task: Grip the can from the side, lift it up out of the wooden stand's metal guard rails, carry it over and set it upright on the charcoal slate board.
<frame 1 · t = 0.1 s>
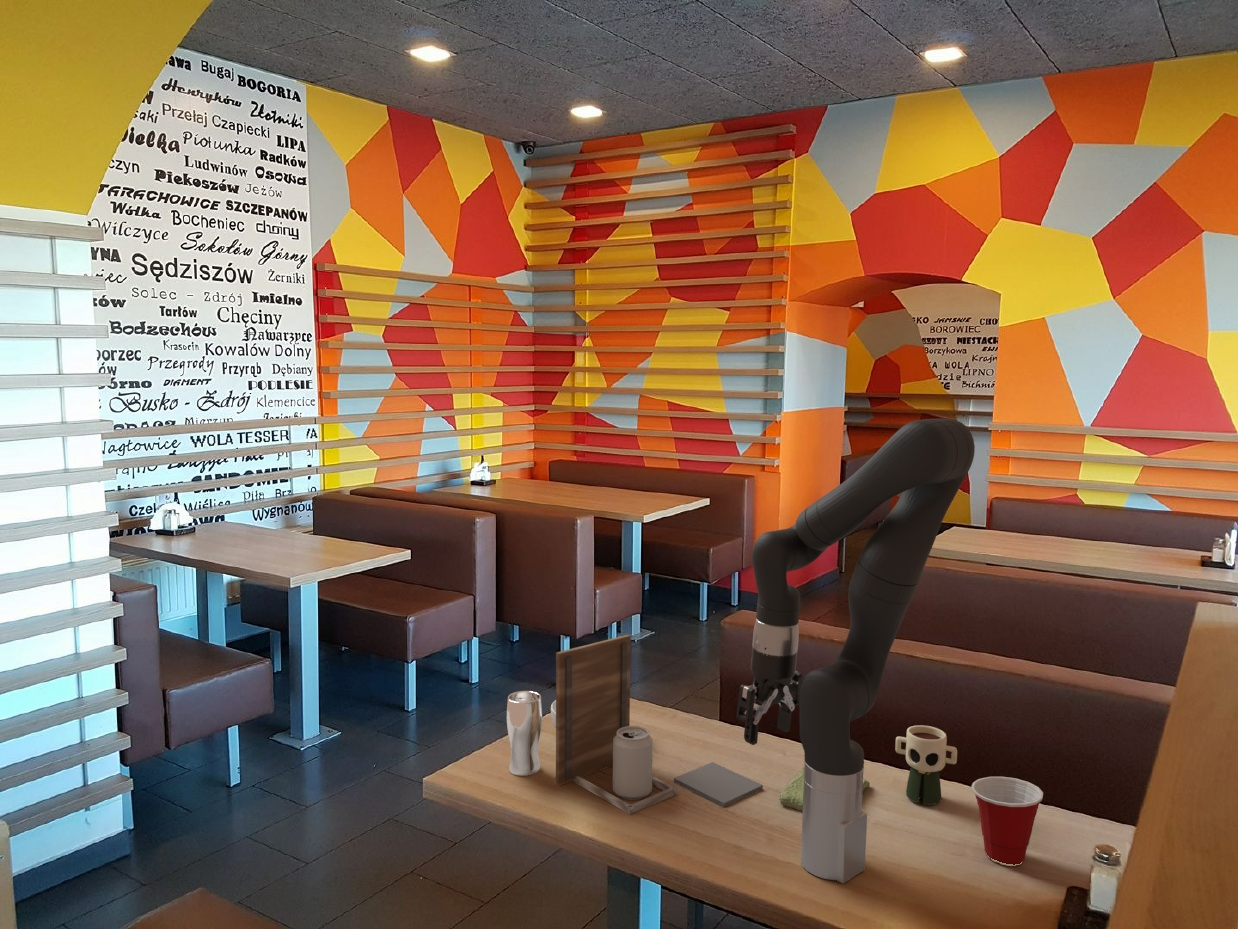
hand: (767, 736, 152), 17 cm above the table, tool pointing down, fingers open, 8 cm apart
washcloth: (823, 798, 167), on the table
character mug: (923, 800, 166), on the table
plastic cup: (1002, 858, 146), on the table
slate board: (717, 785, 171), on the table
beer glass: (524, 770, 177), on the table
cereal bowl: (589, 737, 193), on the table
can: (632, 793, 167), resting in wooden stand
wooden stand: (625, 788, 169), on the table
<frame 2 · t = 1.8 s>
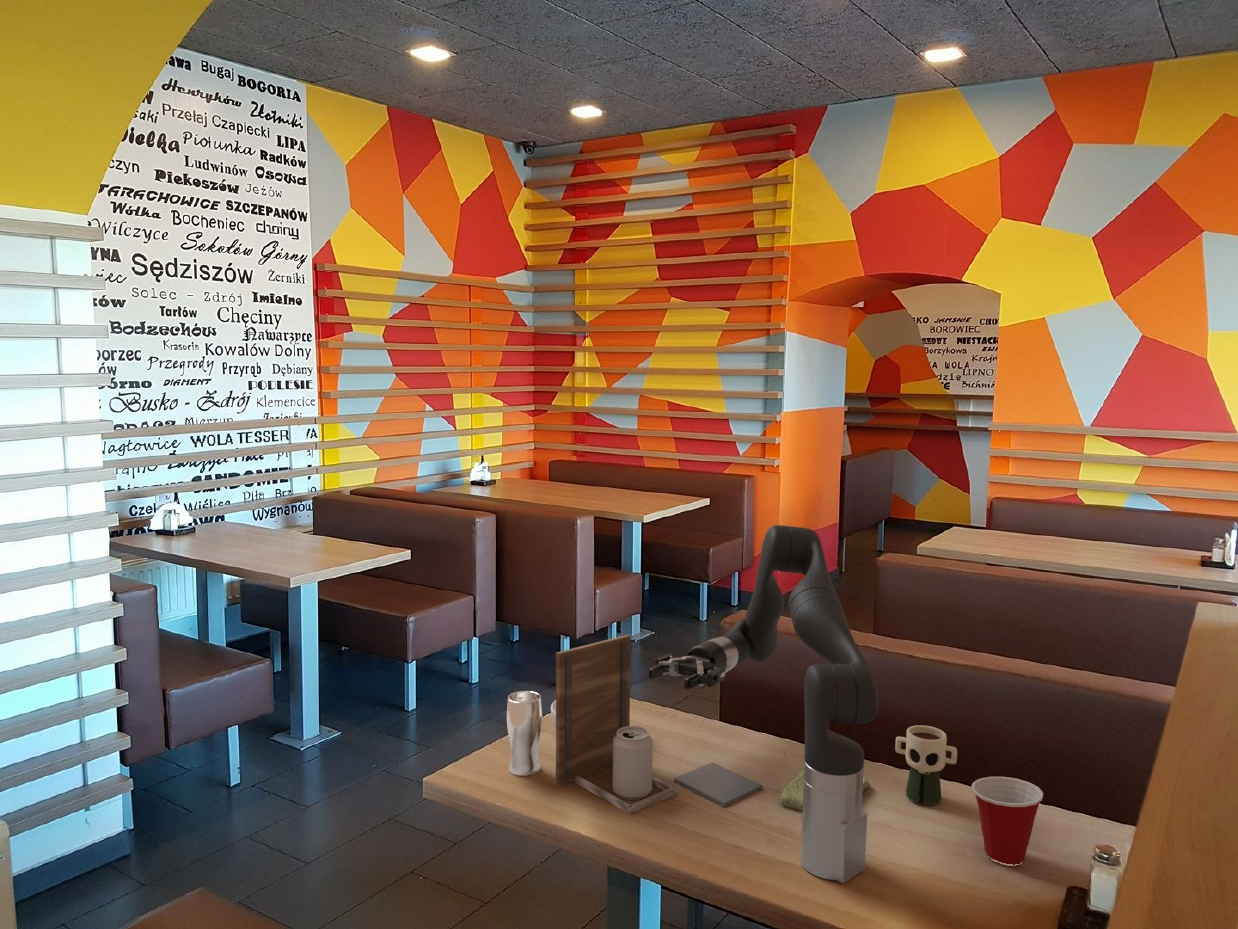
hand: (668, 679, 174), 19 cm above the table, tool horizontal, fingers open, 8 cm apart
nothing on the table moved.
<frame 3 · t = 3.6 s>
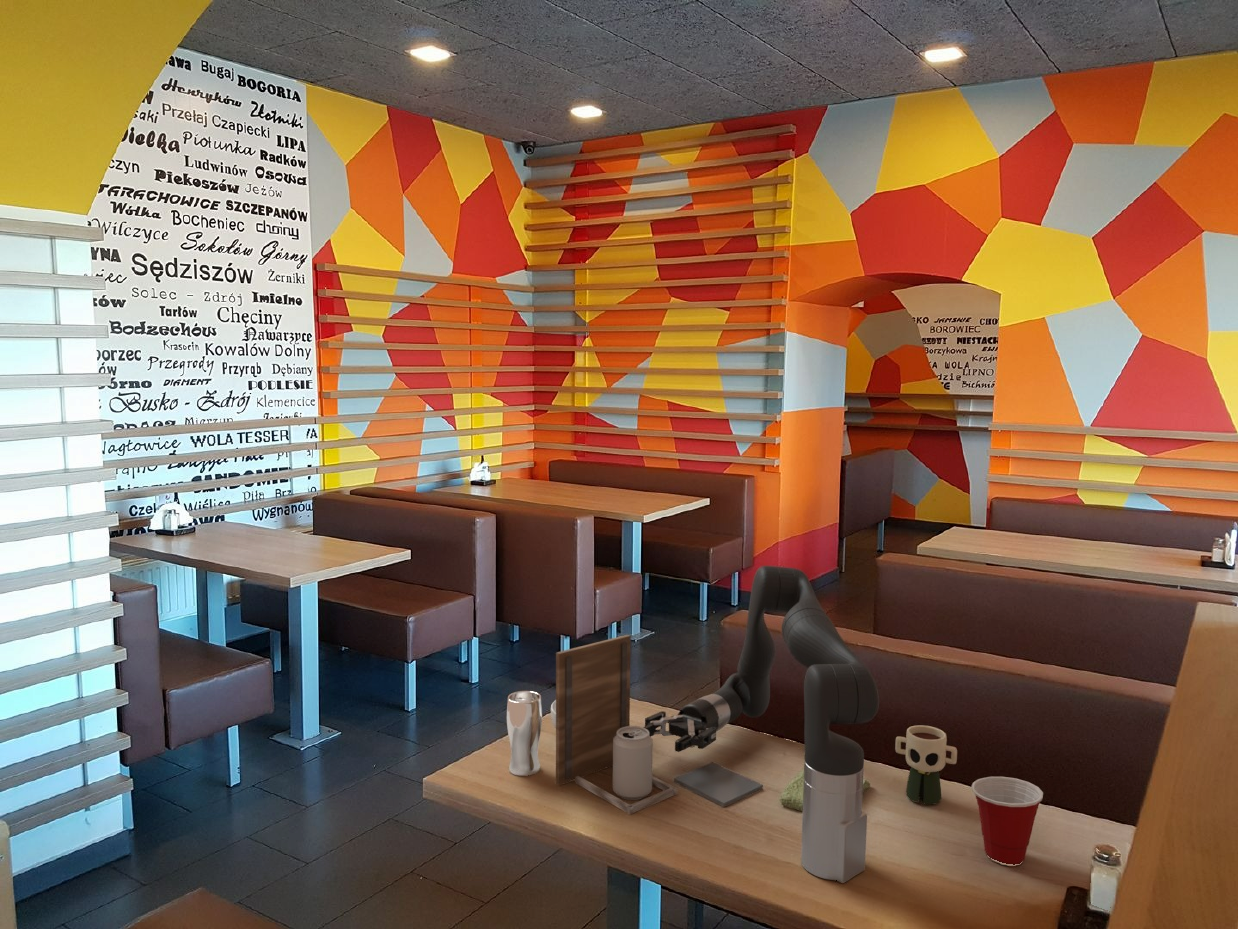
hand: (658, 741, 173), 7 cm above the table, tool horizontal, fingers open, 8 cm apart
nothing on the table moved.
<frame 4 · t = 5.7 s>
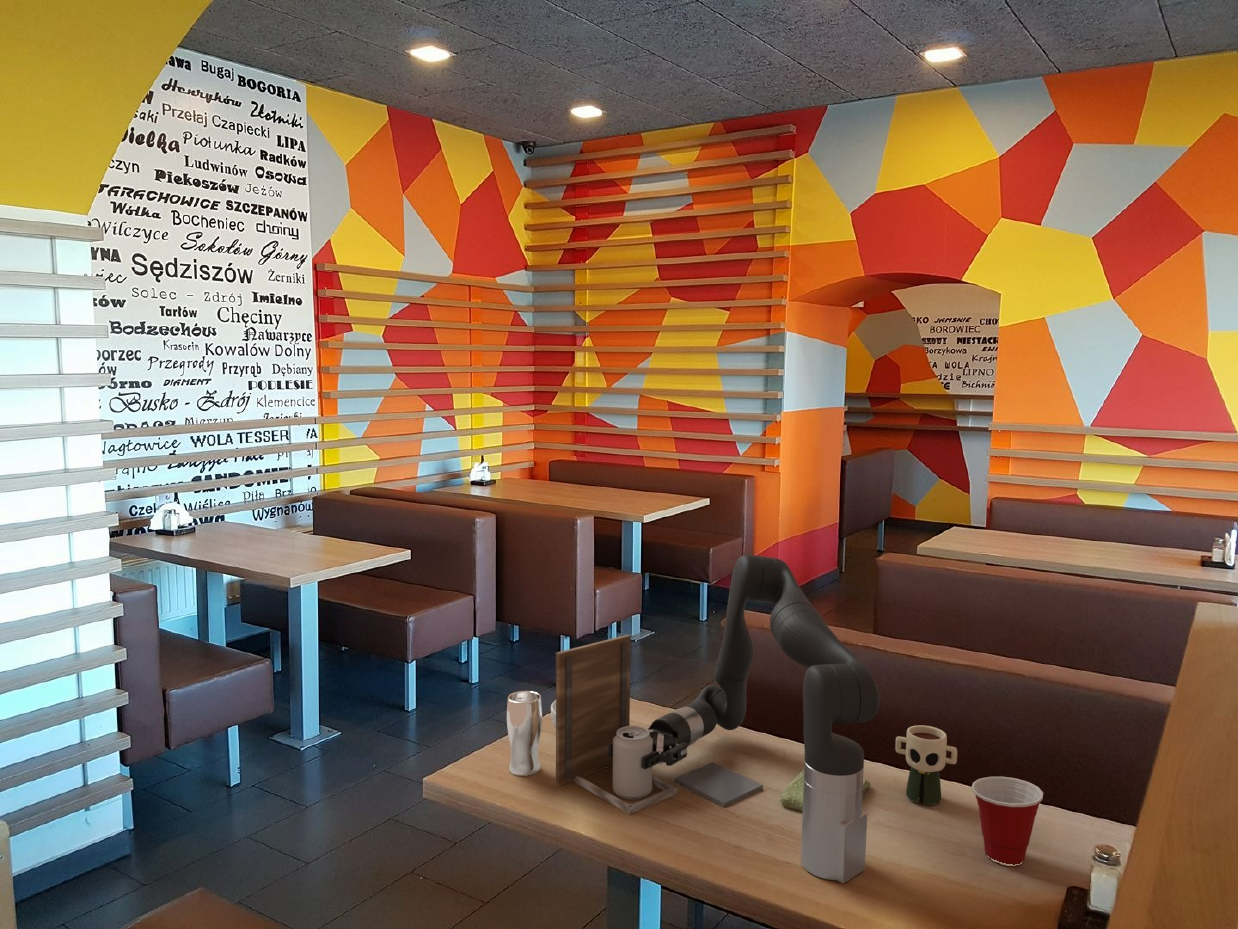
hand: (626, 757, 165), 8 cm above the table, tool horizontal, fingers closed on can, 7 cm apart
can: (632, 793, 167), resting in wooden stand, touching gripper
everything else where it was.
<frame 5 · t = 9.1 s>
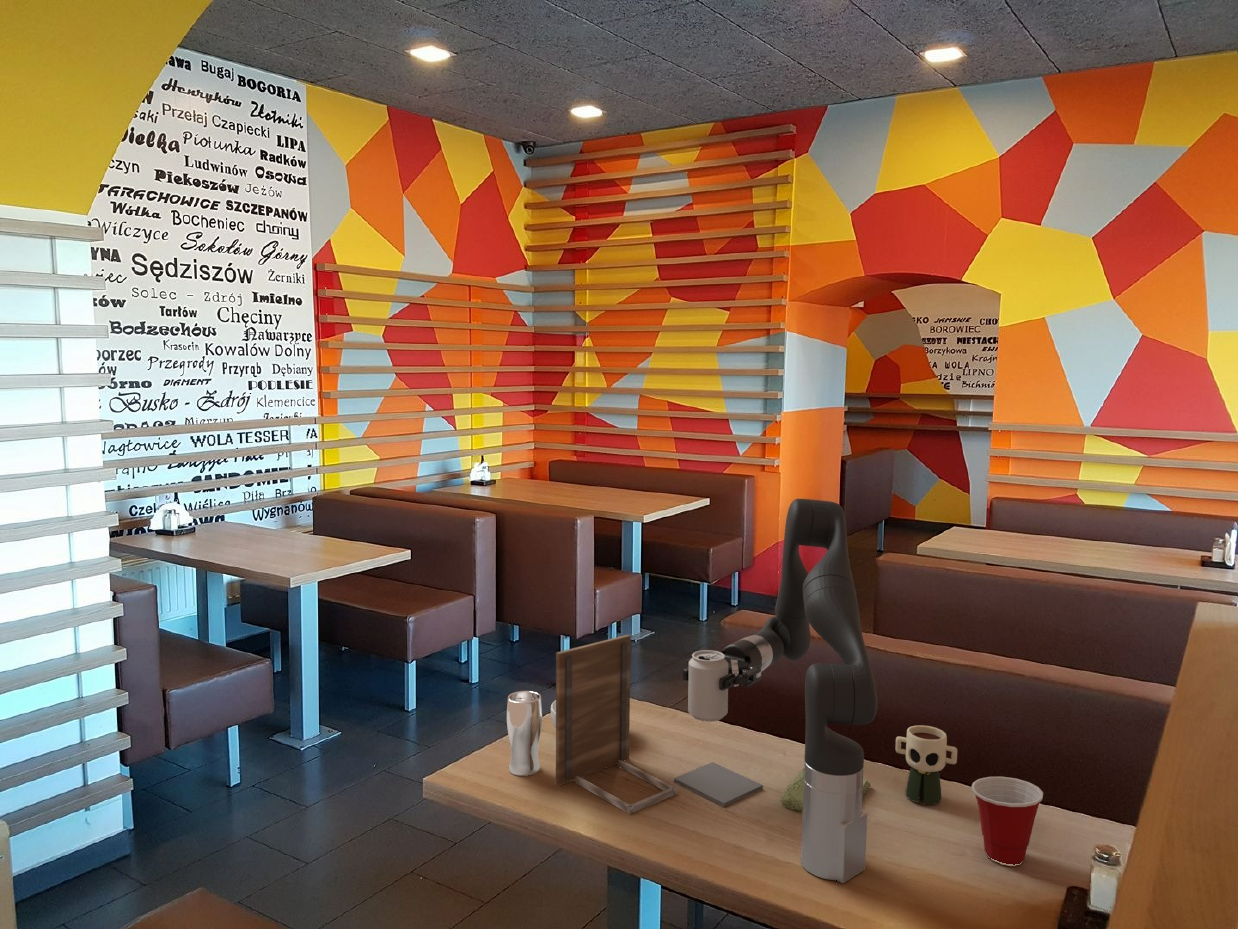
hand: (702, 680, 166), 22 cm above the table, tool horizontal, fingers closed on can, 7 cm apart
can: (707, 716, 169), point 14 cm above the table, touching gripper
everything else where it was.
when the fingers open (9 cm above the table, at t = 12.3 s): can drops 1 cm, resting on slate board.
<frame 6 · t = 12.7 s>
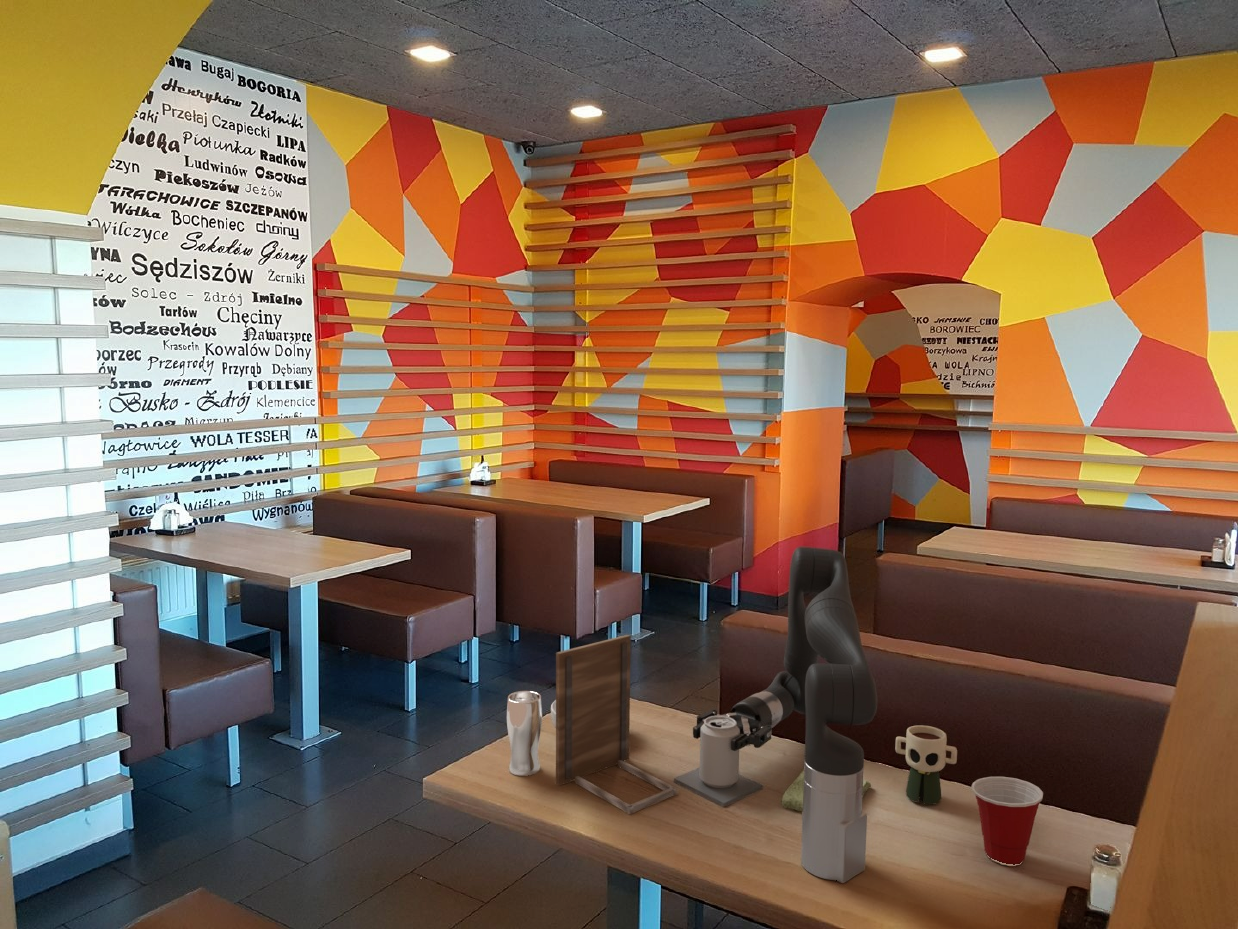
hand: (713, 739, 168), 10 cm above the table, tool horizontal, fingers open, 8 cm apart
can: (718, 782, 171), point 1 cm above the table, touching slate board
everything else where it was.
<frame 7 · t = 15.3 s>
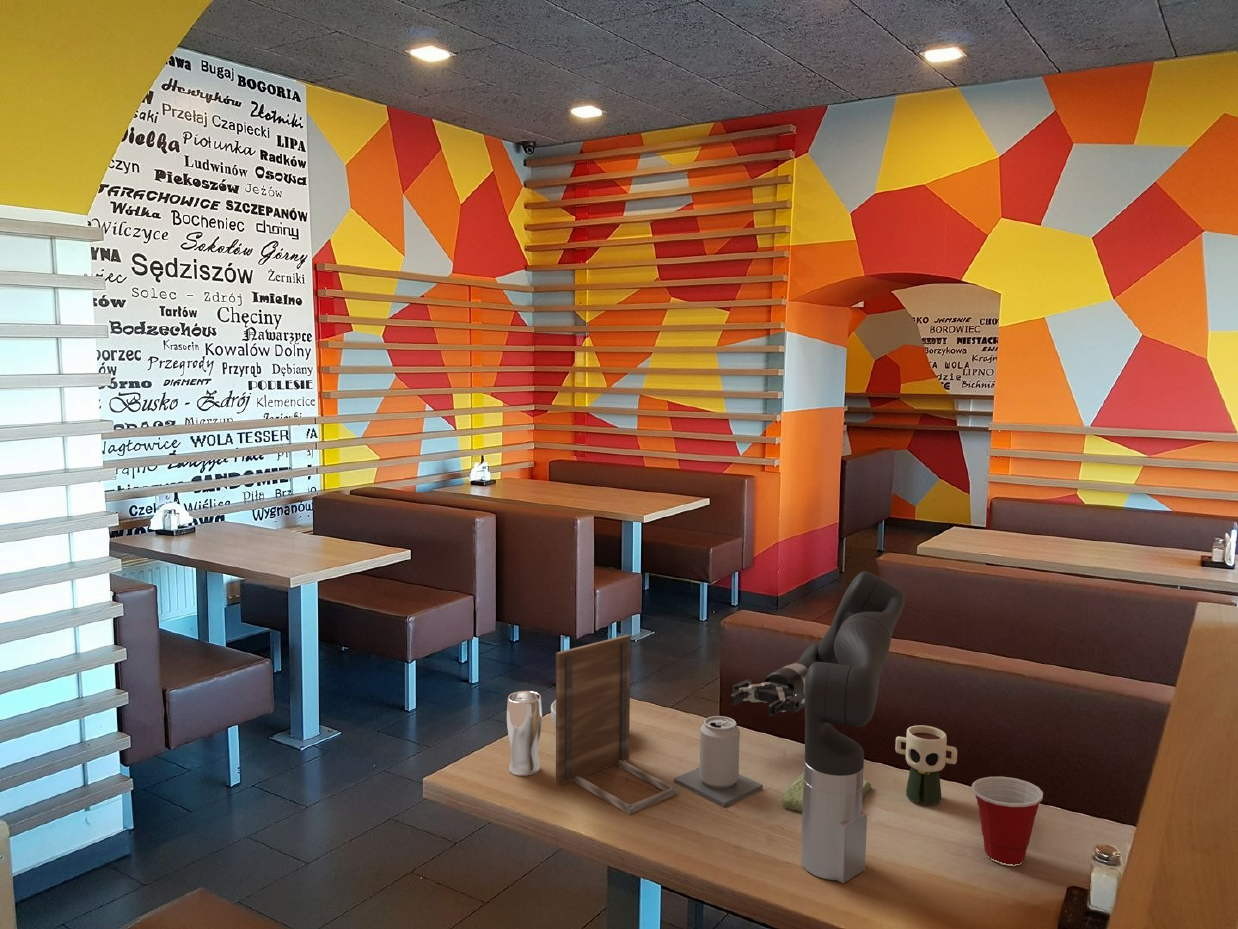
hand: (751, 705, 177), 13 cm above the table, tool horizontal, fingers open, 8 cm apart
nothing on the table moved.
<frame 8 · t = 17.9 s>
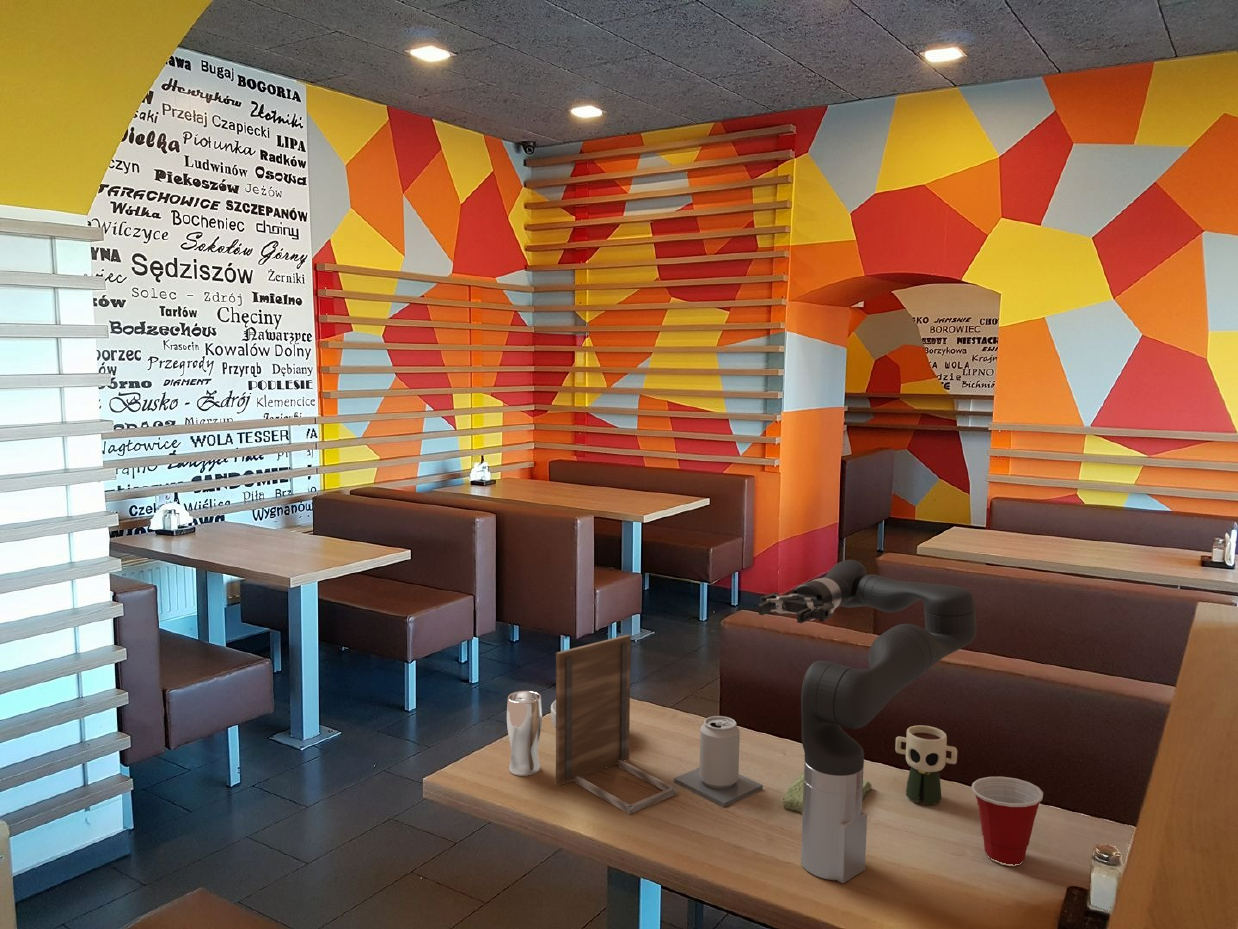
hand: (779, 614, 174), 32 cm above the table, tool horizontal, fingers open, 8 cm apart
nothing on the table moved.
at the end: can inside the target area on the slate board (0.2 cm from its centre), point 0.6 cm above the slate board's base; can tilted 0°; the gripper is holding nothing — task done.
